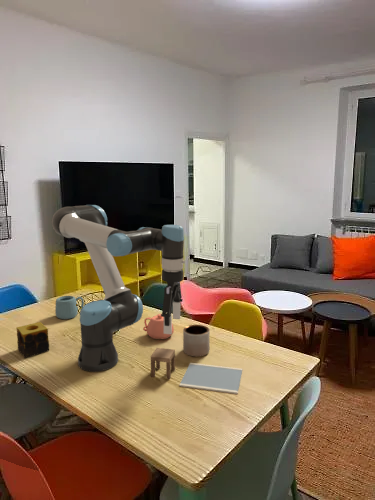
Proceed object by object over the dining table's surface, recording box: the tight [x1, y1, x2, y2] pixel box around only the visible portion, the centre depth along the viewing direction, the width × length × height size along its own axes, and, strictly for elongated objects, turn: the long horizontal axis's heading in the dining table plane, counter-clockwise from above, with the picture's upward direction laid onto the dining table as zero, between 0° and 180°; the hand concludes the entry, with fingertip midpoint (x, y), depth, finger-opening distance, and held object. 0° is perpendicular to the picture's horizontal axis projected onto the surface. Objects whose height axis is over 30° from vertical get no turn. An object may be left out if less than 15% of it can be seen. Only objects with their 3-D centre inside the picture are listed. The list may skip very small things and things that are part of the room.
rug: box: [178, 362, 243, 395], centre depth 135 cm, size 20×16×1 cm
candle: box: [16, 321, 50, 359], centre depth 156 cm, size 10×10×10 cm
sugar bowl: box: [142, 313, 175, 340], centre depth 170 cm, size 12×14×10 cm
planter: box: [182, 324, 211, 358], centre depth 154 cm, size 11×11×10 cm
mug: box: [54, 295, 85, 320], centre depth 194 cm, size 15×11×10 cm
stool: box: [150, 347, 176, 380], centre depth 137 cm, size 7×7×8 cm
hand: (172, 325), depth 137 cm, fingers open, 13 cm apart
